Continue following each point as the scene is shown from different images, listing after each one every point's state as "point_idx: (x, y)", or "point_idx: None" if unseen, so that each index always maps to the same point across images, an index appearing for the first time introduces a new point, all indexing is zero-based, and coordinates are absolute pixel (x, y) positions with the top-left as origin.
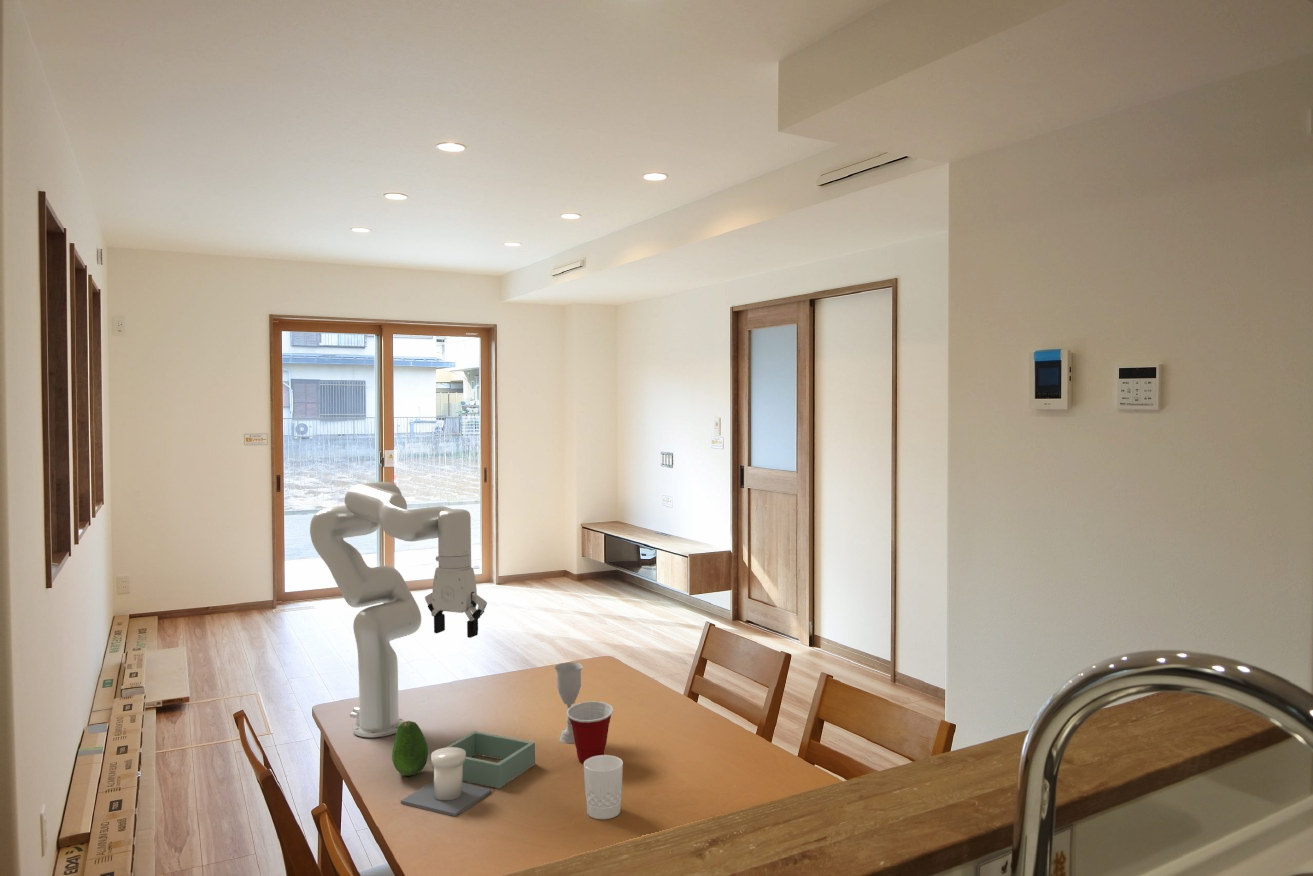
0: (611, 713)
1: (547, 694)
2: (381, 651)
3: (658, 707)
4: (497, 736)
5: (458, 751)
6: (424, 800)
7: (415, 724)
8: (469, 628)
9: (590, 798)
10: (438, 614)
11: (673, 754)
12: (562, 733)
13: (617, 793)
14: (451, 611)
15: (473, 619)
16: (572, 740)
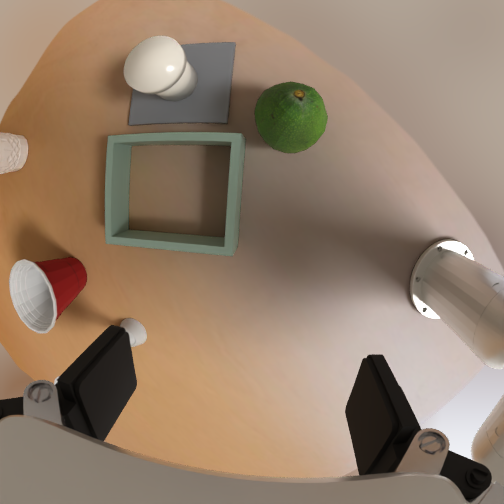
0: (10, 294)
1: (259, 449)
2: None
3: (113, 427)
4: (175, 246)
5: (139, 78)
6: (200, 55)
7: (281, 108)
8: (85, 353)
9: (8, 133)
10: (392, 459)
11: None
12: (133, 330)
13: None
14: (162, 462)
15: (33, 386)
16: (122, 323)
